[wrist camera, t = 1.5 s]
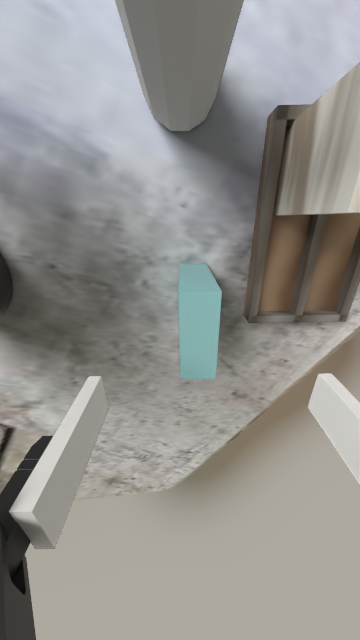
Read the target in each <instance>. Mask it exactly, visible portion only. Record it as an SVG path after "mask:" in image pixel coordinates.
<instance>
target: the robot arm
mask: <svg viewBox="0 0 360 640" xmlns="http://www.w3.org/2000/svg"><path fill="white" fill-rule="evenodd" d="M11 296H12V282H11V277H10V273H9V270H8V268H7V266H6V264H5V261H4V260H3V258H2V256H1V255H0V315H1V314H2V313H3V312H4V311H5V310H6V309H7V307H8V305H9V303H10V300H11ZM308 408H309V410H310V411H311V413H312V414H313V416H314V417H315V419H316V420H317V422H318V423H319V425H320V426H321V428H322V429H323V431H324V432H325V434H326V435H327V437H328V438H329V440H330V441H331V443H332V444H333V446H334V447H335V449H336V450H337V451H338V453H339V455H340V456H341V457H342V459H343V461H344V462H345V463H346V465H347V466H348V468H349V469H350V471H351V472H352V474H353V475H354V477H355V478H356V480H357V481H358V483H359V484H360V403H359V402H358V400H357V399H356V398H355V397H354V396H353V395H352V394H351V393H350V392H349V391H348V390H347V389H346V388H345V387H344V386H343V385H342V384H341V383H340V382H339V381H338V380H337V379H336V378H335V377H334V376H333V375H332V374H318V377H317V380H316V383H315V386H314V389H313V392H312V395H311V398H310V401H309V405H308ZM108 409H109V408H108V404H107V399H106V395H105V391H104V386H103V382H102V377H101V376H89V377H88V379H87V380H86V382H85V384H84V385H83V387H82V389H81V390H80V392H79V394H78V395H77V397H76V399H75V401H74V402H73V404H72V406H71V407H70V409H69V411H68V412H67V414H66V416H65V417H64V419H63V421H62V422H61V424H60V426H59V428H58V429H57V431H56V433H55V434H54V436H42V437H41V438H40V439H39V440H38V441H37V442H36V443H35V444H34V445H33V446H32V447H31V449H30V450H29V452H28V453H27V455H26V456H25V458H24V460H23V461H22V462H21V464H20V465H19V467H18V468H17V471H15V473H14V474H13V476H12V477H11V479H10V480H9V482H8V483H7V485H6V486H5V488H4V489H3V491H2V492H1V494H0V640H36V635H35V628H34V619H33V611H32V603H31V595H30V587H29V578H28V570H27V562H26V557H25V552H26V550H27V548H28V546H29V544H30V542H31V544H32V545H33V546H34V548H35V549H55V547H56V544H57V542H58V539H59V537H60V534H61V531H62V529H63V526H64V524H65V521H66V519H67V516H68V513H69V511H70V508H71V505H72V503H73V500H74V498H75V495H76V493H77V490H78V487H79V485H80V482H81V480H82V477H83V474H84V472H85V469H86V467H87V464H88V461H89V459H90V456H91V454H92V451H93V448H94V446H95V443H96V441H97V438H98V435H99V433H100V430H101V428H102V425H103V422H104V420H105V417H106V415H107V412H108Z"/></svg>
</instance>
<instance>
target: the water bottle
mask: <svg viewBox="0 0 360 640" xmlns="http://www.w3.org/2000/svg"><path fill="white" fill-rule="evenodd" d="M243 1H244V0H115V2H116V5H117V8H118V12H119V15H120V18H121V22H122V25H123V28H124V32H125V35H126V38H127V41H128V45H129V48H130V51H131V55H132V58H133V61H134V65H135V68H136V71H137V75H138V78H139V81H140V84H141V88H142V91H143V94H144V97H145V99H146V102H147V104H148V106H149V108H150V110H151V113H152V115H153V117H154V119H156V120H157V121H158V122H159V123H161V124H162V125H163V126H165V127H166V128H167V129H169V130H170V131H190V130H191V129H193V128H194V127H195V126H197V125H198V124H200V123H201V122H203V121H204V120H205V119H206V117H207V115H208V113H209V111H210V109H211V107H212V105H213V103H214V101H215V99H216V96H217V92H218V89H219V85H220V82H221V78H222V75H223V71H224V68H225V64H226V61H227V57H228V54H229V50H230V47H231V43H232V40H233V36H234V33H235V29H236V26H237V22H238V19H239V15H240V12H241V8H242V5H243Z"/></svg>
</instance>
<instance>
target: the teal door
mask: <svg viewBox="0 0 360 640" xmlns="http://www.w3.org/2000/svg"><path fill="white" fill-rule="evenodd" d="M221 297H222V291H221V289H220V287H219V285H218V284H217V282H216V280H215V278H214V277H213V275H212V273H211V271H210V270H209V268H208V266H207V264H206V263H202V264H179V287H178V303H179V350H180V380H194V379H216V367H217V353H218V339H219V325H220V311H221Z"/></svg>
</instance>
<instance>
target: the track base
mask: <svg viewBox="0 0 360 640" xmlns="http://www.w3.org/2000/svg"><path fill="white" fill-rule="evenodd" d="M359 282H360V63H359V64H357V65H356V66H355V67H354V68H353V69H352V70H351V71H349V72H348V73H347V74H346V75H345V76H344V77H343V78H341V79H340V80H339V81H338V82H337V83H336V84H335V85H334V86H332V87H331V88H330V89H329V90H328V91H327V92H326V93H324V94H323V95H322V96H321V97H320V98H319V99H318V100H316V101H315V102H314V103H313V104H312V105H278V106H277V107H276V108H275V110H274V111H273V112H272V113H271V114H270V115H269V117H268V121H267V129H266V137H265V145H264V154H263V162H262V170H261V178H260V186H259V194H258V203H257V211H256V219H255V227H254V235H253V243H252V251H251V260H250V268H249V276H248V284H247V292H246V300H245V309H244V316H245V318H246V319H247V321H248V323H263V322H343V321H346V319H347V316H348V313H349V310H350V307H351V305H352V302H353V299H354V296H355V293H356V290H357V288H358V285H359Z"/></svg>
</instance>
